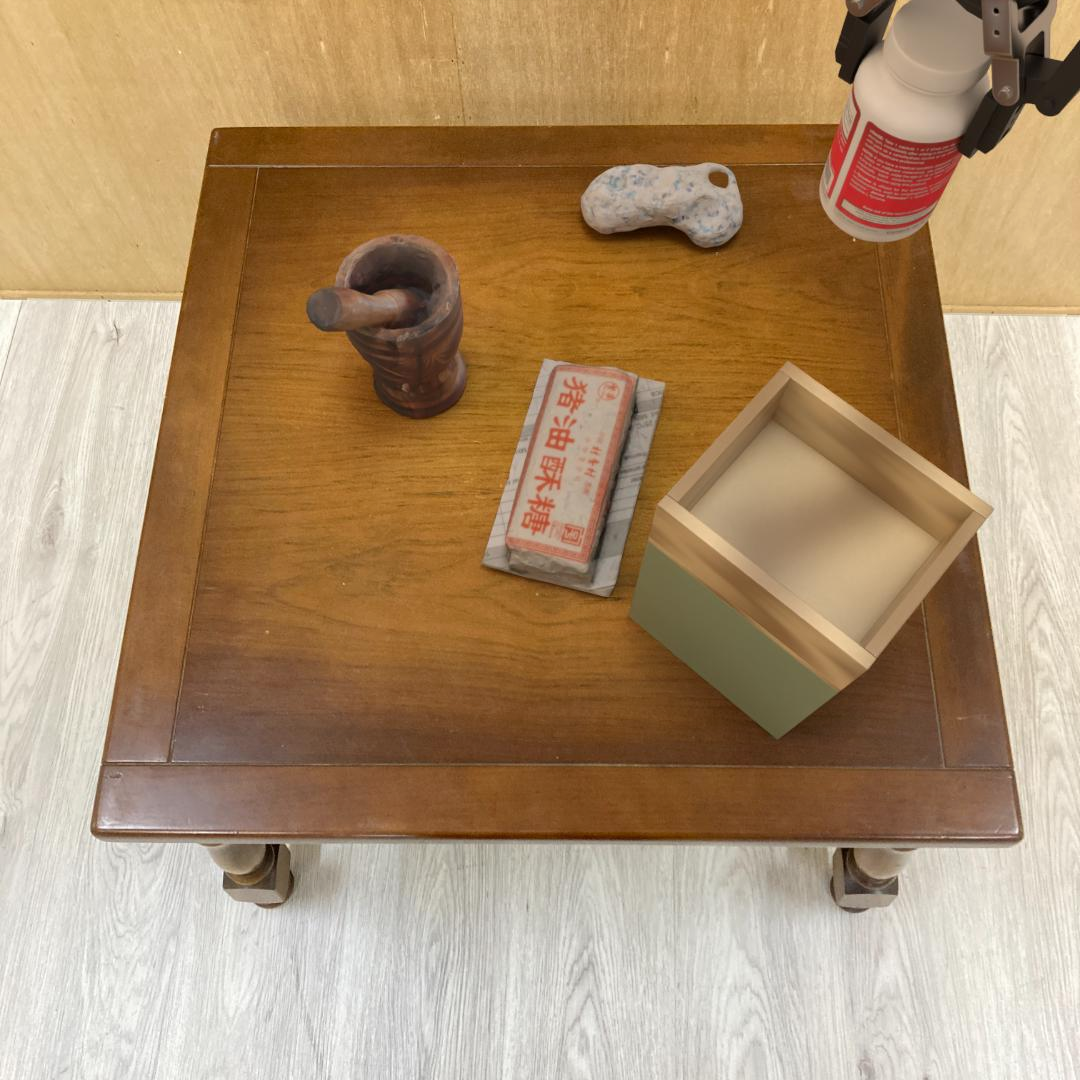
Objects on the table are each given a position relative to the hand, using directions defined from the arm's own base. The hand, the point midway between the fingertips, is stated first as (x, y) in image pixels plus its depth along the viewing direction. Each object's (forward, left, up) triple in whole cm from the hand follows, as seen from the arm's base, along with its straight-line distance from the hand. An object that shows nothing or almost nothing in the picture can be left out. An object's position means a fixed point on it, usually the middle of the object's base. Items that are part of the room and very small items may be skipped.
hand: (913, 106), depth 49 cm
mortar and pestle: (+23, +17, -33) cm, 44 cm away
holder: (-8, +14, -17) cm, 24 cm away
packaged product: (+8, +14, -33) cm, 37 cm away
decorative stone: (+18, -9, -33) cm, 39 cm away
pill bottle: (0, 0, -7) cm, 7 cm away
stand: (-8, +14, -33) cm, 37 cm away
